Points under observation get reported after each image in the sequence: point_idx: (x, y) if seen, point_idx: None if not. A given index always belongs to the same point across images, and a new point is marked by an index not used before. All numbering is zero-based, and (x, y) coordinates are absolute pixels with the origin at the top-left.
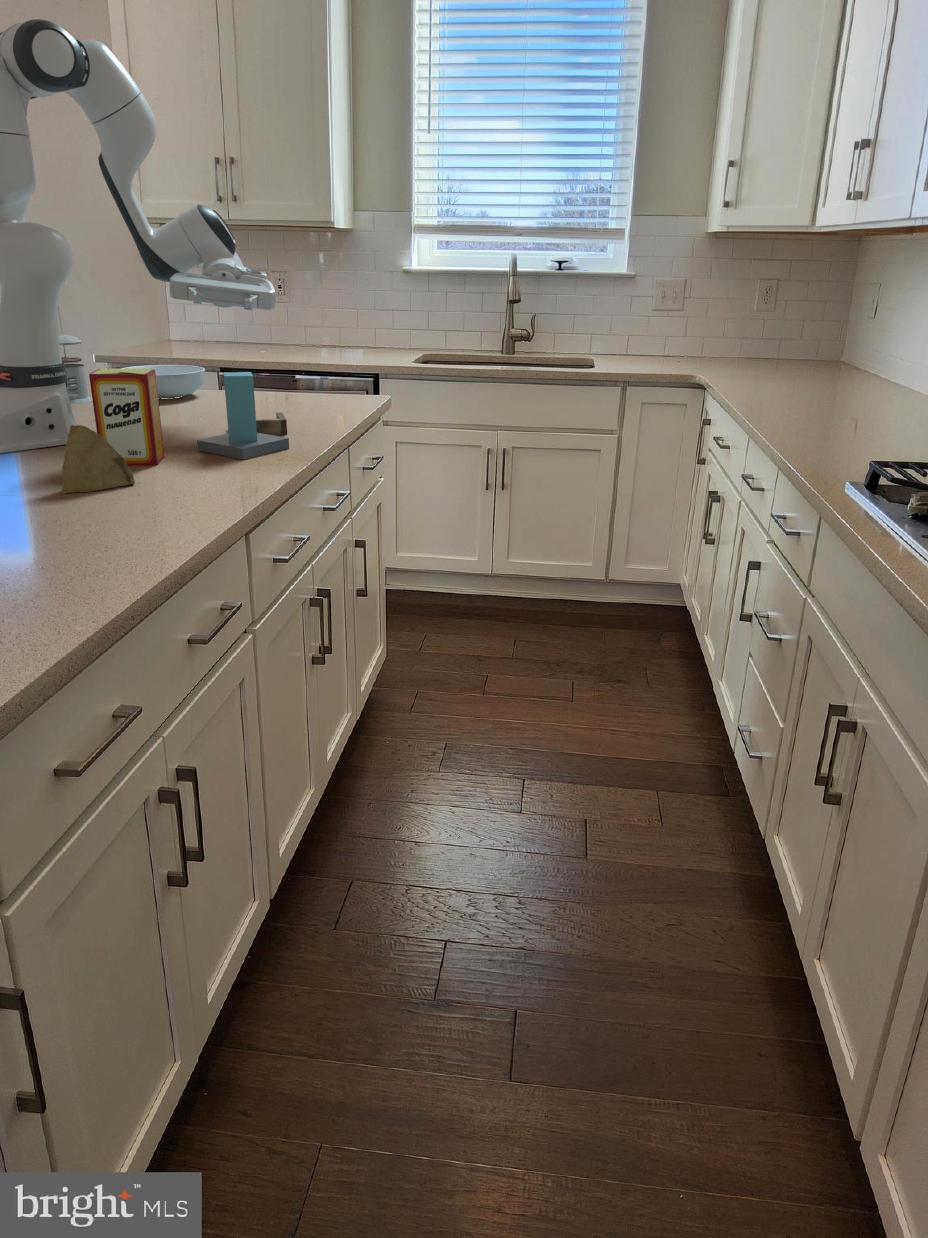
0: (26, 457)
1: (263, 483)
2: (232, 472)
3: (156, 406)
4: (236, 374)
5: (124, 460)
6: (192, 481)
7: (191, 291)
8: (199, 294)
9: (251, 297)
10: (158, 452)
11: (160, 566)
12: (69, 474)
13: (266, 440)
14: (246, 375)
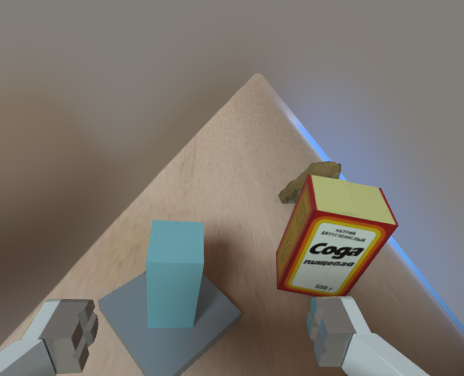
0: (443, 320)
1: (173, 179)
2: (197, 213)
3: (295, 233)
4: (180, 236)
5: (290, 182)
6: (233, 196)
7: (393, 353)
8: (326, 301)
9: (10, 361)
10: (279, 255)
11: (235, 102)
12: None
13: (138, 290)
14: (164, 224)
